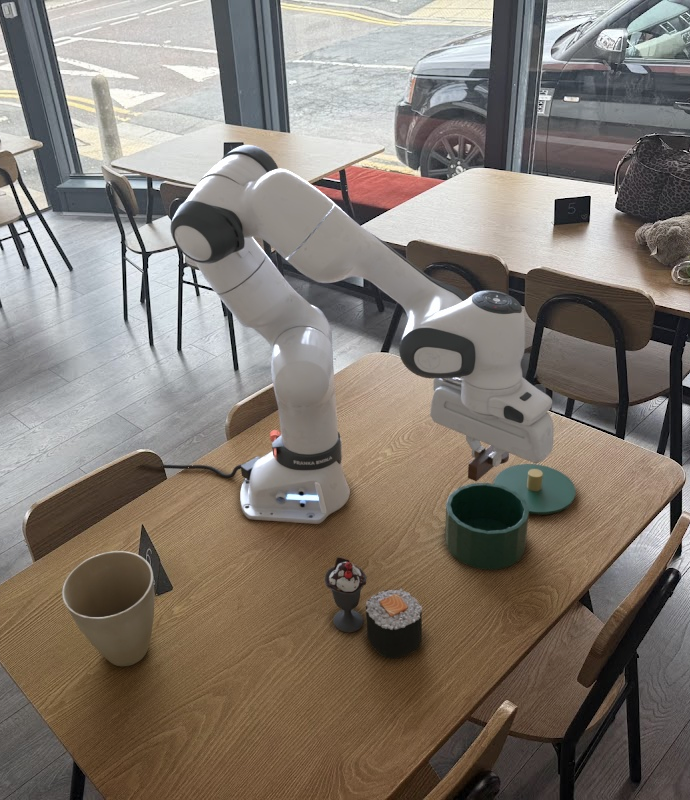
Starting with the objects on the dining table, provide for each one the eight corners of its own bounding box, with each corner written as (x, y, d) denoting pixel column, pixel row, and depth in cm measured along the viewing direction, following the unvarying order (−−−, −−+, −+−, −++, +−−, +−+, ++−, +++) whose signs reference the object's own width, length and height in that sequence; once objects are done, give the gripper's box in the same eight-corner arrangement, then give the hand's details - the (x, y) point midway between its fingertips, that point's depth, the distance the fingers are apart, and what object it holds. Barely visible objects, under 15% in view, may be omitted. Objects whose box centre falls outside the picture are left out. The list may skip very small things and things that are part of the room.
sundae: (359, 642, 129) (356, 576, 121) (322, 628, 132) (316, 564, 124) (374, 613, 133) (372, 548, 125) (337, 601, 137) (333, 537, 129)
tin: (453, 571, 139) (455, 535, 134) (439, 519, 150) (440, 485, 146) (534, 567, 137) (538, 531, 132) (513, 515, 148) (516, 480, 144)
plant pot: (178, 618, 139) (163, 552, 130) (156, 689, 127) (137, 622, 118) (100, 612, 143) (80, 548, 134) (71, 680, 131) (47, 614, 122)
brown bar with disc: (481, 484, 128) (481, 469, 127) (462, 475, 131) (463, 461, 129) (512, 456, 133) (513, 442, 131) (494, 449, 135) (495, 435, 134)
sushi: (358, 631, 131) (356, 597, 127) (401, 612, 133) (401, 578, 129) (386, 666, 124) (385, 632, 120) (430, 645, 126) (431, 611, 122)
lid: (504, 519, 148) (505, 500, 145) (485, 471, 160) (486, 452, 157) (585, 514, 146) (589, 494, 143) (561, 466, 158) (563, 447, 155)
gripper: (422, 378, 129) (422, 446, 136) (540, 421, 115) (532, 494, 122) (445, 362, 132) (443, 429, 139) (562, 402, 118) (554, 474, 125)
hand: (486, 460), depth 131 cm, fingers closed on brown bar with disc
